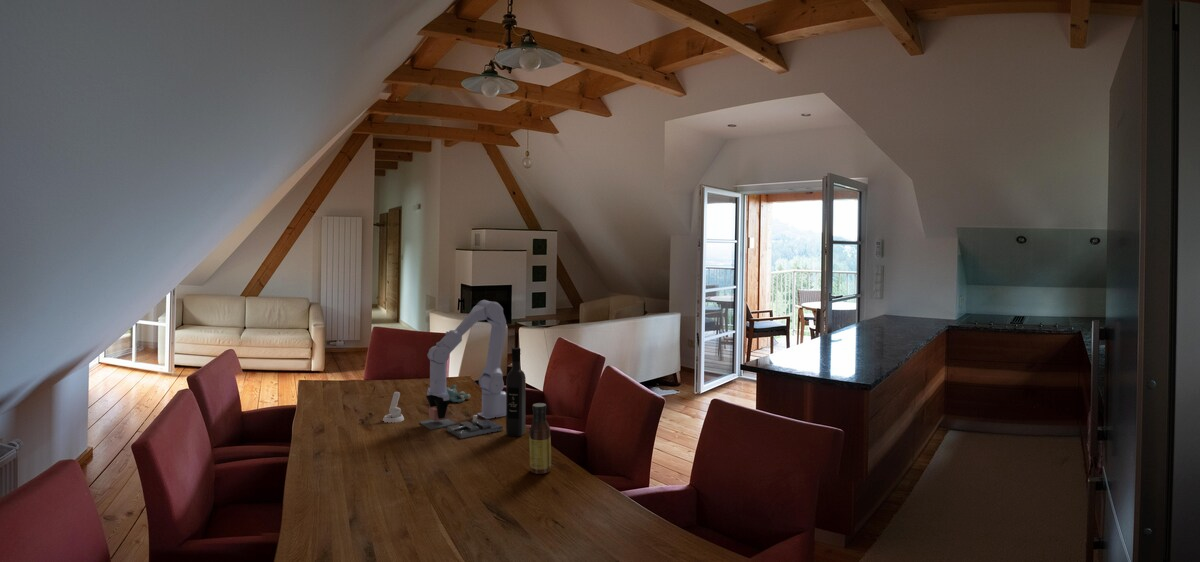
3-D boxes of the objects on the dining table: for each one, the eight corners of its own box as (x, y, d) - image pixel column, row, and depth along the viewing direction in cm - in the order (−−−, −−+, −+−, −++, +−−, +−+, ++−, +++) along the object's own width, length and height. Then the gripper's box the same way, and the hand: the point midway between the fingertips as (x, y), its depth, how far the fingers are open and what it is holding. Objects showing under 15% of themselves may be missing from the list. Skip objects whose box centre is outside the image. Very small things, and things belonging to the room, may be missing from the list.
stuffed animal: (474, 389, 265) (444, 386, 261) (470, 406, 265) (441, 403, 261) (470, 384, 276) (442, 380, 272) (467, 400, 276) (438, 397, 271)
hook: (409, 400, 247) (410, 393, 242) (402, 430, 241) (402, 424, 235) (389, 396, 246) (389, 390, 240) (381, 426, 239) (381, 420, 234)
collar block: (441, 415, 237) (441, 405, 237) (447, 418, 233) (447, 407, 233) (428, 417, 234) (428, 407, 234) (434, 421, 230) (434, 410, 230)
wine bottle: (520, 437, 219) (521, 350, 218) (505, 436, 221) (505, 349, 219) (526, 432, 225) (526, 347, 223) (510, 431, 226) (511, 346, 224)
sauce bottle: (540, 465, 192) (540, 400, 191) (555, 470, 188) (556, 403, 187) (524, 471, 187) (524, 404, 186) (539, 477, 183) (540, 408, 182)
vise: (487, 423, 235) (487, 408, 235) (502, 430, 227) (502, 415, 226) (444, 431, 225) (444, 415, 225) (458, 439, 217) (458, 423, 216)
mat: (445, 418, 241) (445, 417, 241) (457, 425, 233) (457, 423, 233) (419, 423, 235) (419, 421, 235) (430, 429, 227) (430, 428, 227)
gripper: (419, 377, 236) (419, 413, 237) (436, 384, 225) (436, 422, 225) (437, 374, 240) (437, 410, 241) (454, 381, 229) (454, 419, 230)
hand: (438, 416), depth 234 cm, fingers closed on collar block, 5 cm apart
